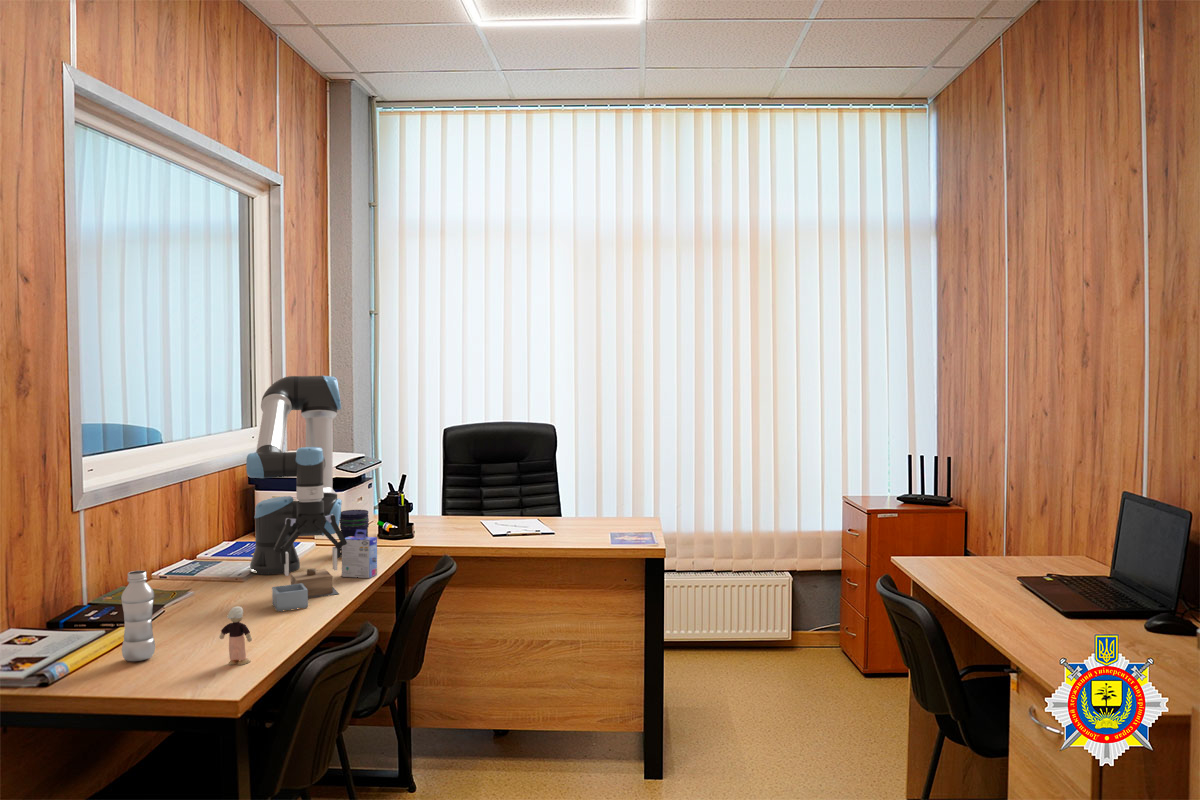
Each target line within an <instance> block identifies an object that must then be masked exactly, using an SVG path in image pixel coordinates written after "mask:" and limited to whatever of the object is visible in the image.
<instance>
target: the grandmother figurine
mask: <svg viewBox="0 0 1200 800" xmlns="http://www.w3.org/2000/svg"><path fill="white" fill-rule="evenodd" d="M243 614H244V609H243V608H242V606H234V607H231V609H230V610H229V611H228V613H227V615H226V617H227V619H228V620H230V621H231V622H229V623H227V624H226V625H225V626H224V627H222V629H221V630H220V635H219V637H218V638H219V639H220V640H223V639H225V636H226V635H228V634H229V635H228V636H229V637H228V639H229V640H228V652H229V660H230V661H228V665H229V666H231V665H233V666H234V665H236V664H237V665H239V666H243V665H244V666H245V665H246V664H249V663H250V662H251V660H250V659H249V658H248V657H247V653H246V641H247V642H248V643H249V642H250V643H251V642H252V640H253V638H252V636H251V631H250V629H249V628H248V626H247V625H246V624H245V623H243V622H241V621H242V620H243ZM245 638H246V640H245Z"/></svg>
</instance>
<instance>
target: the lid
mask: <svg viewBox="0 0 1200 800" xmlns="http://www.w3.org/2000/svg"><path fill="white" fill-rule="evenodd" d="M289 575H290V585H292V584H300V583H302V584H303V585H304V586H305V587H306V588H307V590H308V596H315V595H322V594H330V593H333V588H334V586H333V584H334V583H333V575H332V574H331V573H330V572H329V571H328V570H327V569H326V568H321V569H316V568H307V569H306V570H305V571H304V570H303V571H297V572H289Z"/></svg>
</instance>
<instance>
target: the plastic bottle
mask: <svg viewBox="0 0 1200 800" xmlns="http://www.w3.org/2000/svg"><path fill="white" fill-rule="evenodd" d="M147 580H148V577H147V571H146V570H133V571H129V572H127V580H126V581H127V582H128V584H127V586H126V587H125V589H124V590H123V591H122V594H121V597H120V599H121V605H122V610H123V619H124V621H123V622H124V633H123V641H122V647H121V653H122V654H121V655H122V657H123V659H124V660H125V661H127V662H140V661H141V662H142V661H144V660H148V659H150V658H152V657H153V655H154V654H155V651H156V643H155V638H154V634H153V633H154V632H153V624H152V623H153V618H152V617H153V606H154V600H155V591H154V589H153V588H152V586H150V585H149V583H147Z"/></svg>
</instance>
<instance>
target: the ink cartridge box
mask: <svg viewBox="0 0 1200 800" xmlns="http://www.w3.org/2000/svg"><path fill="white" fill-rule="evenodd" d="M366 531H367V530H358V529H357V530H356V533H355V536H354V537H352V536H350V537H346V538H345V540H346V542H347V544H346V545H343V546H342V556H341V577H343V578H357V577H358V578H360V579H370V578H372V577H373V578H374V577H376V576H378V538H377V536H368V537H366ZM358 532H364V534H357V533H358Z"/></svg>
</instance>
